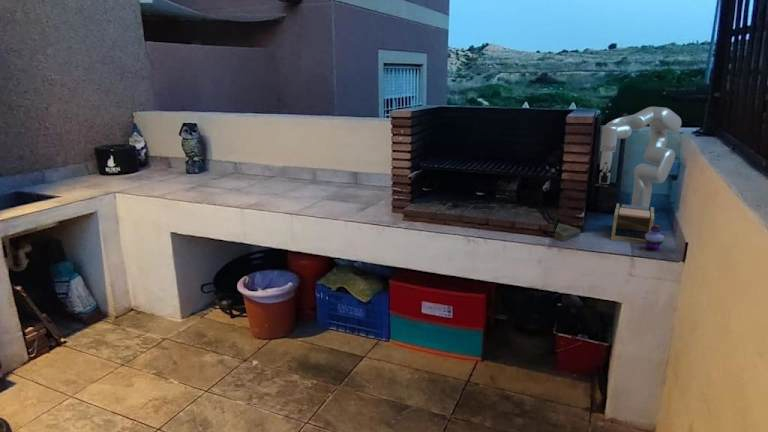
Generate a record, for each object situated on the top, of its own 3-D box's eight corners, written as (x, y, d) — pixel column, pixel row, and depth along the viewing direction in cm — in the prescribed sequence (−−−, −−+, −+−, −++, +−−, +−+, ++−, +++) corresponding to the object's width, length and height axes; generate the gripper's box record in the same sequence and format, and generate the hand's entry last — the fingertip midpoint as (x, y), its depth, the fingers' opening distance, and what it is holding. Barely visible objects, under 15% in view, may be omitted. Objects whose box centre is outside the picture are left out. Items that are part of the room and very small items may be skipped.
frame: (613, 226, 278) (617, 202, 274) (649, 231, 270) (653, 206, 266) (610, 239, 257) (614, 213, 253) (650, 245, 249) (654, 218, 245)
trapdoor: (619, 211, 271) (620, 204, 270) (649, 214, 265) (650, 207, 264) (617, 219, 256) (618, 212, 255) (649, 223, 250) (650, 215, 249)
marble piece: (562, 242, 254) (563, 234, 253) (539, 234, 266) (540, 227, 264) (582, 236, 263) (583, 228, 262) (559, 229, 275) (560, 221, 273)
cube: (599, 181, 277) (600, 172, 275) (609, 182, 275) (610, 173, 273) (598, 183, 273) (599, 174, 271) (608, 183, 270) (609, 174, 269)
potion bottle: (664, 252, 239) (668, 228, 235) (644, 250, 241) (648, 227, 237) (660, 246, 247) (664, 223, 243) (640, 245, 249) (644, 222, 245)
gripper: (601, 145, 277) (598, 177, 282) (599, 150, 262) (595, 184, 268) (616, 146, 274) (612, 178, 279) (614, 151, 259) (610, 185, 265)
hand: (604, 181), depth 273 cm, fingers closed on cube, 5 cm apart
